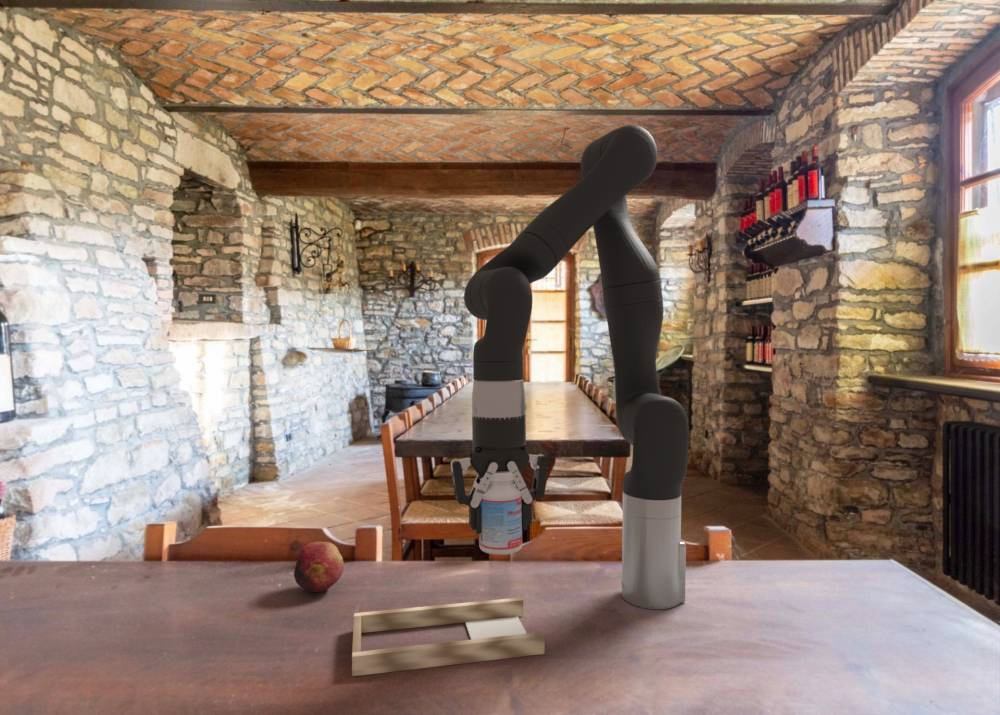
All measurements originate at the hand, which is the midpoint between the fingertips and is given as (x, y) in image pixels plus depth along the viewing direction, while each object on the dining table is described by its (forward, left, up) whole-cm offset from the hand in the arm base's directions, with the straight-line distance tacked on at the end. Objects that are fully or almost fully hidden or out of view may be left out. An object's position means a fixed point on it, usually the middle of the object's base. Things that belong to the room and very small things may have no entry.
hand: (500, 529), depth 84 cm
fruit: (+26, -21, -15) cm, 37 cm away
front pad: (0, 0, -15) cm, 15 cm away
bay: (+8, 0, -15) cm, 17 cm away
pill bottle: (0, 0, -3) cm, 3 cm away
